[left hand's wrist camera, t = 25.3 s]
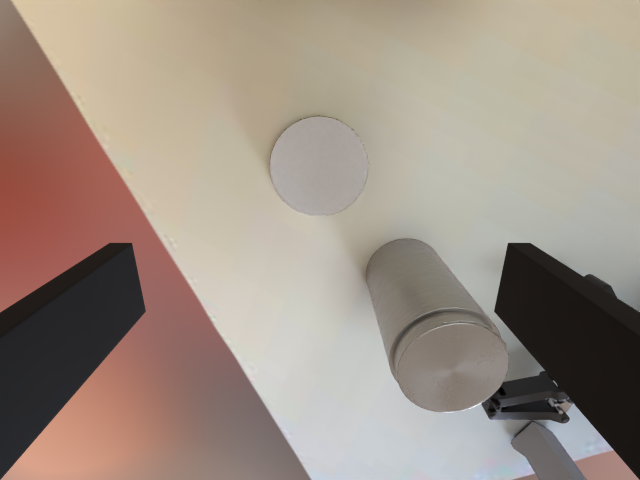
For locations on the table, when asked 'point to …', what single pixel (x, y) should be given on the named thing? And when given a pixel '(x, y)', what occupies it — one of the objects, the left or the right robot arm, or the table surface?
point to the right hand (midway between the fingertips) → (482, 324)
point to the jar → (433, 329)
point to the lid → (319, 166)
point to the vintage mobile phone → (546, 454)
